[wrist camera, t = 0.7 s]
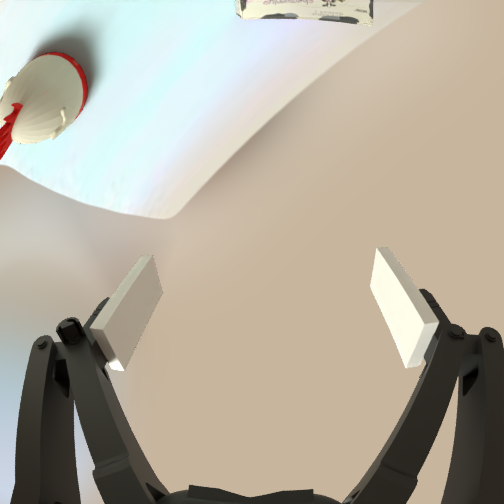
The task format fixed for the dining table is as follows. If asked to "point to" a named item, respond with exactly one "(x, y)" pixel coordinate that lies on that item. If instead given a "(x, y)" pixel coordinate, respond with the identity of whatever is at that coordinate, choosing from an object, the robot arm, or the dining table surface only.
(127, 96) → the dining table surface
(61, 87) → the white and red dome
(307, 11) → the candy bar box
